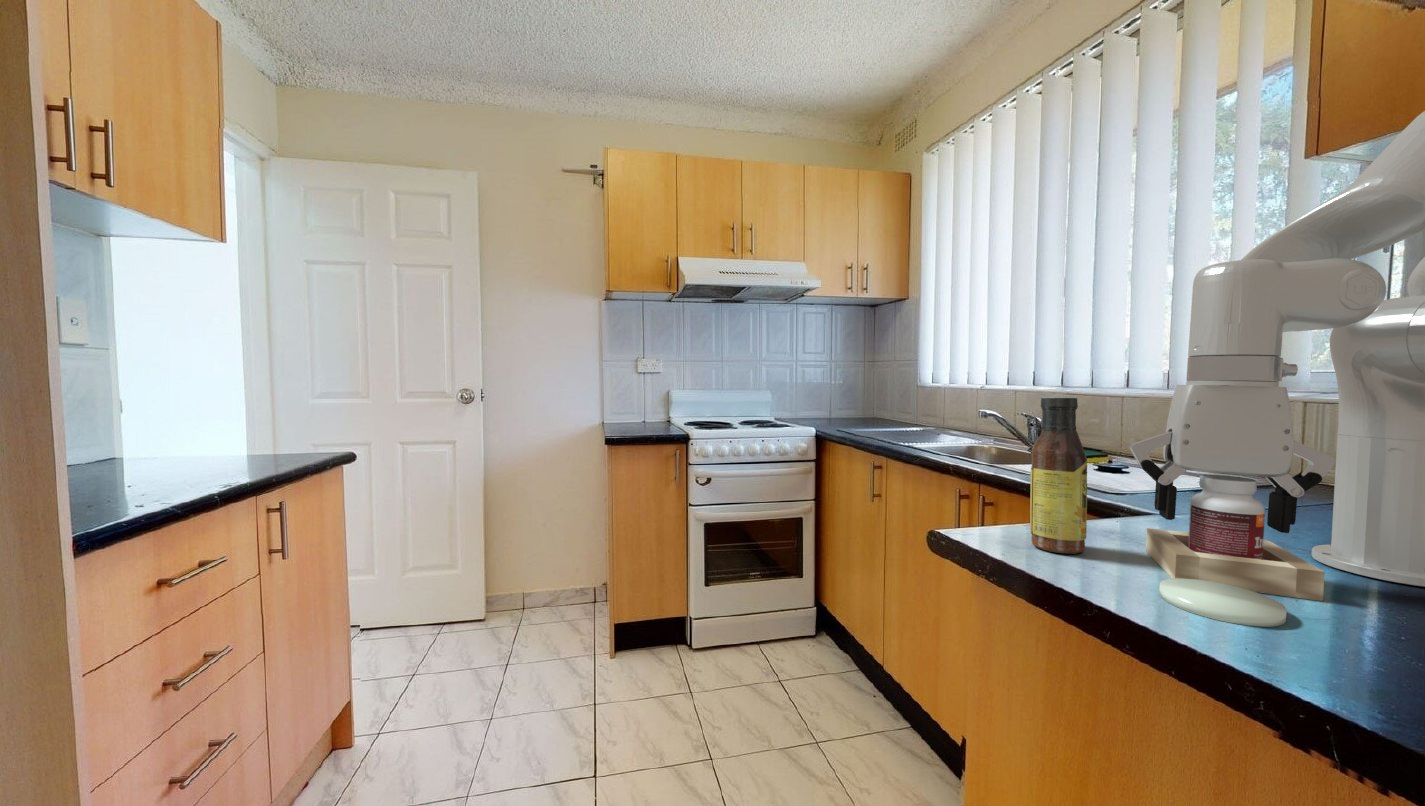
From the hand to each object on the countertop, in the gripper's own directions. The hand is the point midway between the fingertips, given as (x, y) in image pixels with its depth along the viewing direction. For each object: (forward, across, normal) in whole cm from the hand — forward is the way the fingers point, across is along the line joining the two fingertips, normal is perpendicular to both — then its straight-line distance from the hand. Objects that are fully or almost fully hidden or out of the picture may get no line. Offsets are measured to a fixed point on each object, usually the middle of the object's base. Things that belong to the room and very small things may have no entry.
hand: (1220, 523), depth 61 cm
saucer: (+6, +3, +12) cm, 13 cm away
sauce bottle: (+6, +15, -2) cm, 17 cm away
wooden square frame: (+6, -1, 0) cm, 6 cm away
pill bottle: (+6, -1, 0) cm, 6 cm away
